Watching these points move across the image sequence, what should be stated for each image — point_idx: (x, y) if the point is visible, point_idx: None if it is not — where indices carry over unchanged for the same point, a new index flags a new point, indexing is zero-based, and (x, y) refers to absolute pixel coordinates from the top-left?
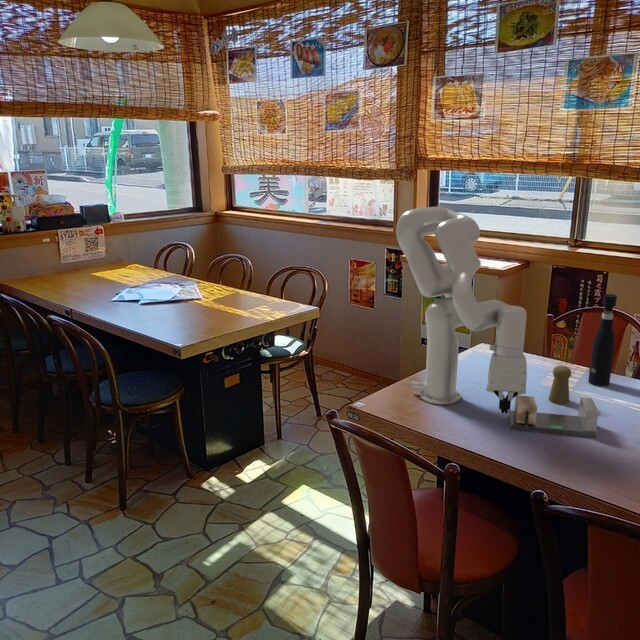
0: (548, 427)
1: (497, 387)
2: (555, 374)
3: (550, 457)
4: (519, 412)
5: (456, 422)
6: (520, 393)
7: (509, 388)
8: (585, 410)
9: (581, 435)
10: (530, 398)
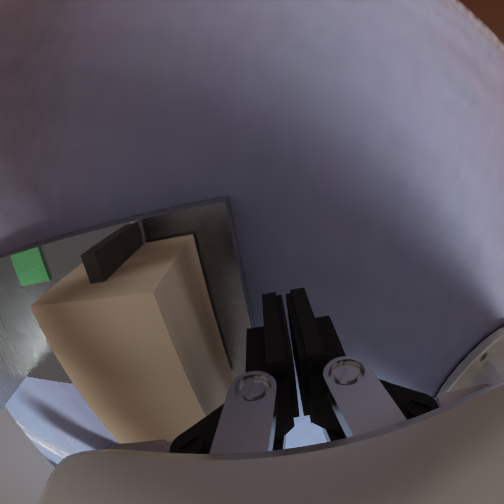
0: (49, 254)
1: (485, 434)
2: None
3: (52, 20)
4: (157, 266)
5: (482, 195)
6: (150, 450)
7: (273, 501)
8: None
9: None
10: (128, 432)
